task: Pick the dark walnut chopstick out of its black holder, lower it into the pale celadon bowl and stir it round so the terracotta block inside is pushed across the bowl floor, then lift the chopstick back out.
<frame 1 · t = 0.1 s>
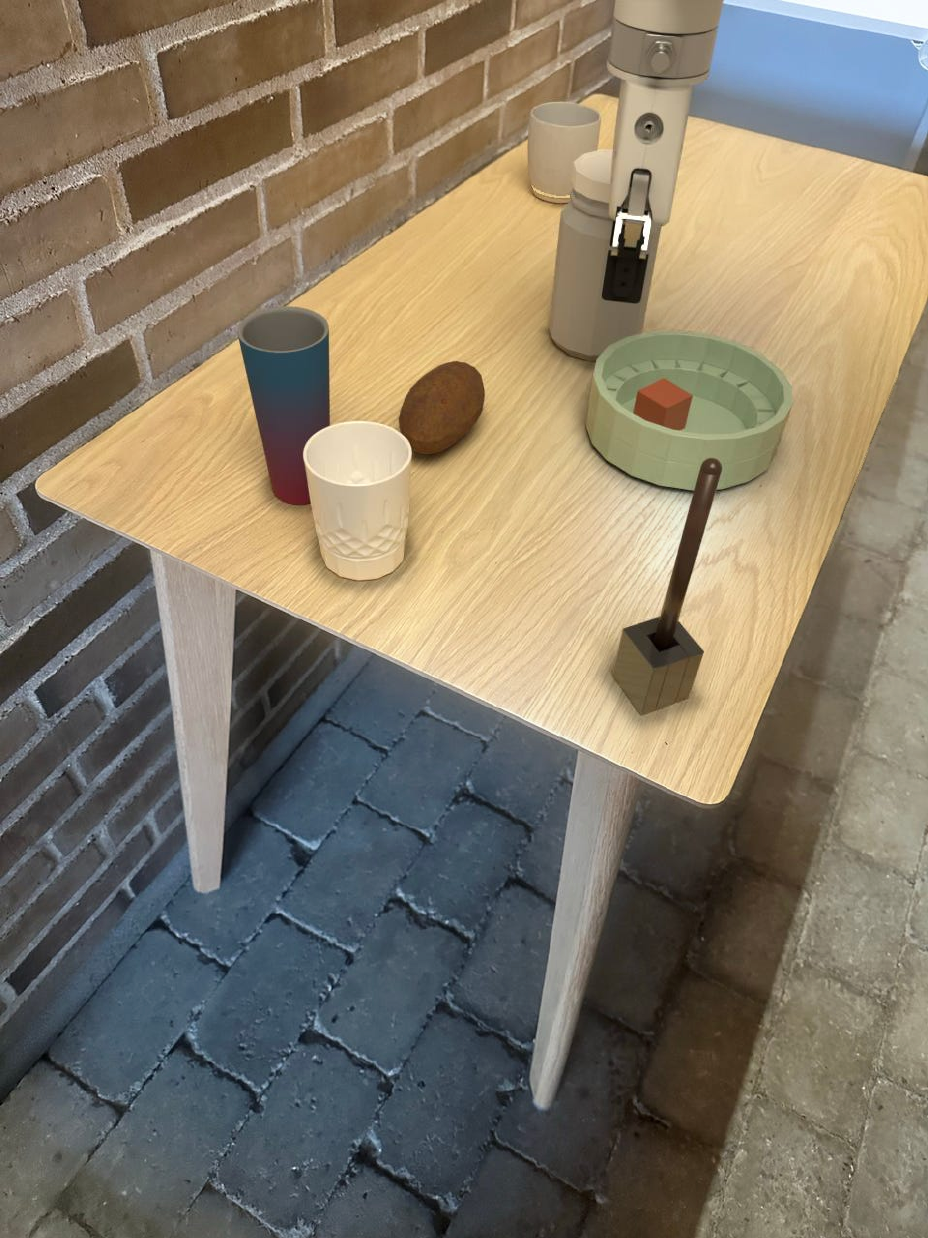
hand: (623, 272, 81), 14 cm above the table, tool pointing down, fingers open, 9 cm apart
chopstick: (649, 686, 67), resting in holder
bowl: (679, 436, 88), on the table
white cup: (363, 554, 76), on the table
block: (658, 425, 88), point 1 cm above the table, touching bowl
jar: (592, 342, 100), on the table
holder: (650, 686, 67), on the table
mug: (562, 190, 127), on the table
potato: (440, 440, 87), on the table
cup: (301, 488, 81), on the table
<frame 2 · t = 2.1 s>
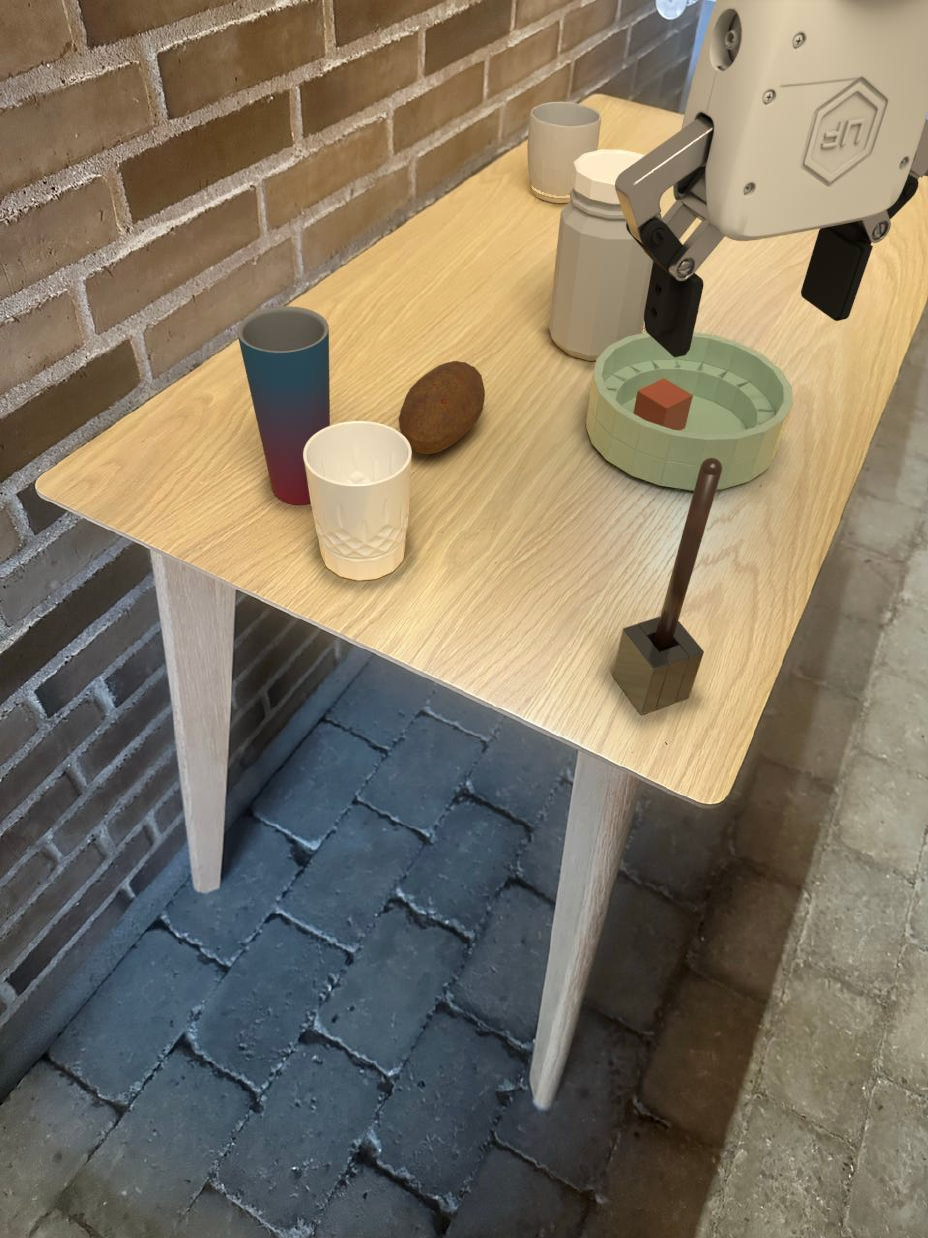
hand: (746, 325, 48), 27 cm above the table, tool pointing down, fingers open, 9 cm apart
nothing on the table moved.
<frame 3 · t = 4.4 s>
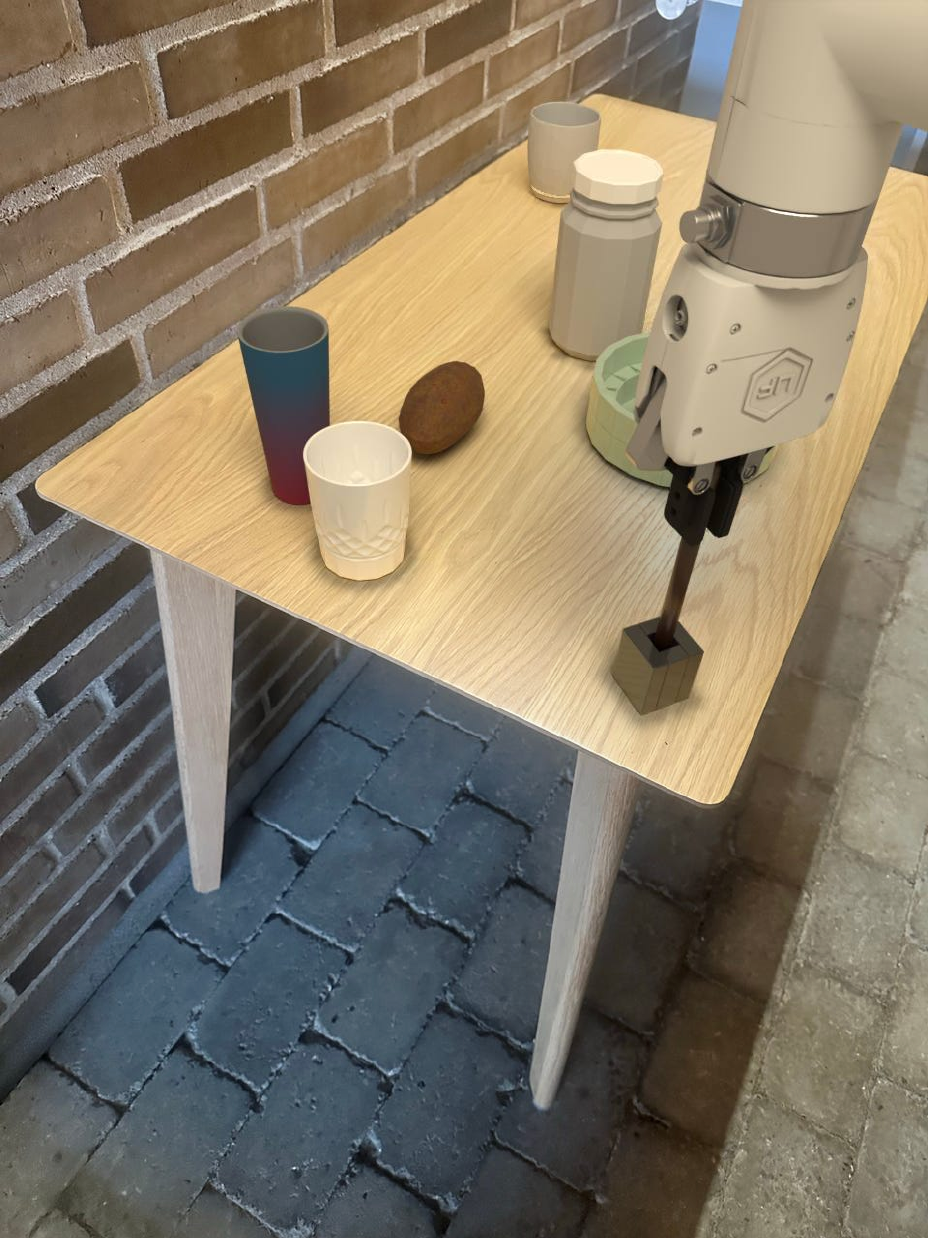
hand: (695, 525, 56), 15 cm above the table, tool pointing down, fingers closed on chopstick, 1 cm apart
chopstick: (650, 686, 67), resting in holder, touching gripper
everything else where it was.
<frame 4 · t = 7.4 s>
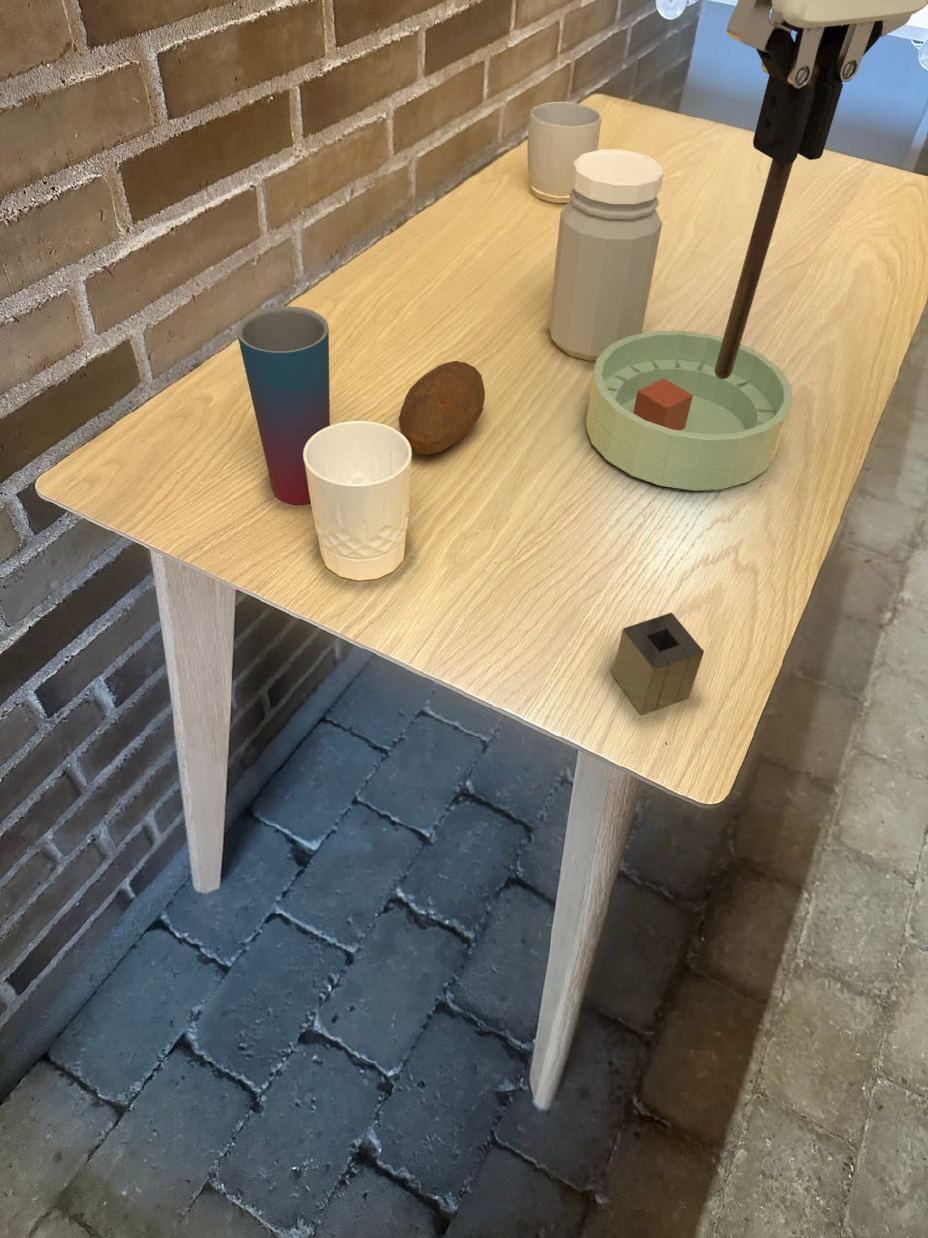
hand: (786, 151, 54), 31 cm above the table, tool pointing down, fingers closed on chopstick, 1 cm apart
chopstick: (721, 377, 65), point 16 cm above the table, touching gripper
everything else where it was.
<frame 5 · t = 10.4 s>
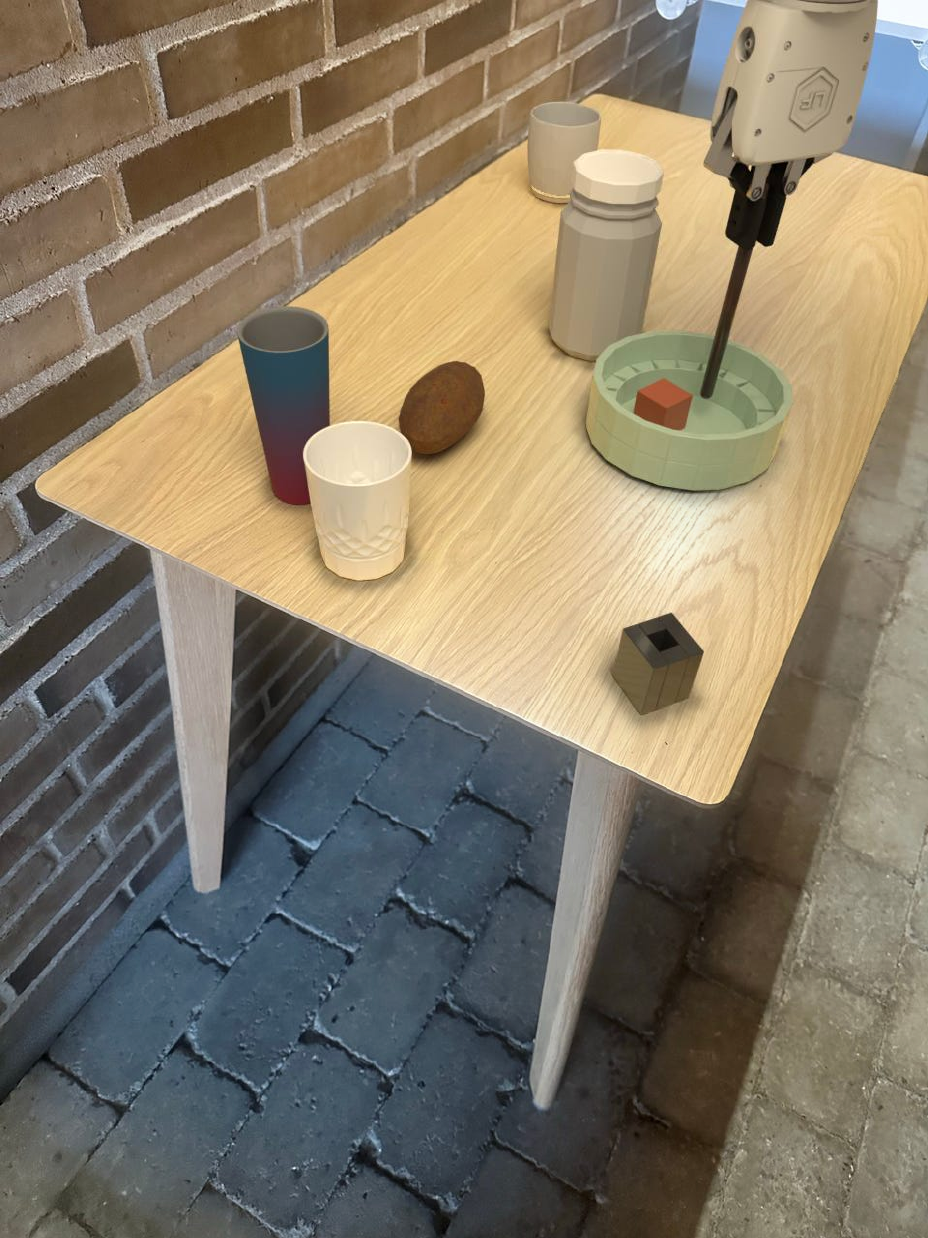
hand: (748, 240, 76), 18 cm above the table, tool pointing down, fingers closed on chopstick, 1 cm apart
chopstick: (705, 397, 87), point 3 cm above the table, touching gripper
everything else where it was.
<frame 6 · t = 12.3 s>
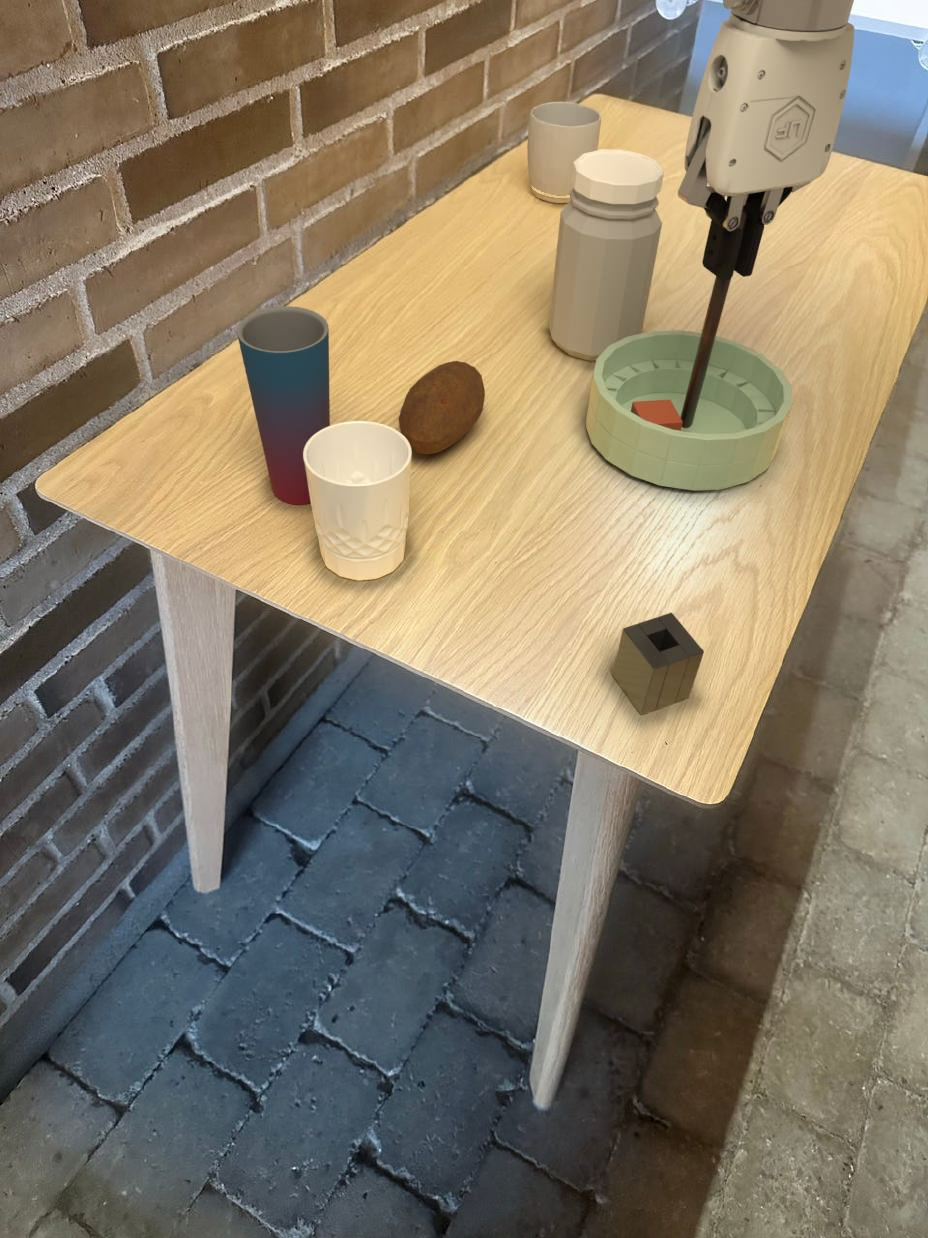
hand: (726, 269, 74), 17 cm above the table, tool pointing down, fingers closed on chopstick, 1 cm apart
chopstick: (684, 427, 85), point 2 cm above the table, touching gripper
block: (650, 444, 86), point 1 cm above the table, touching bowl
everything else where it was.
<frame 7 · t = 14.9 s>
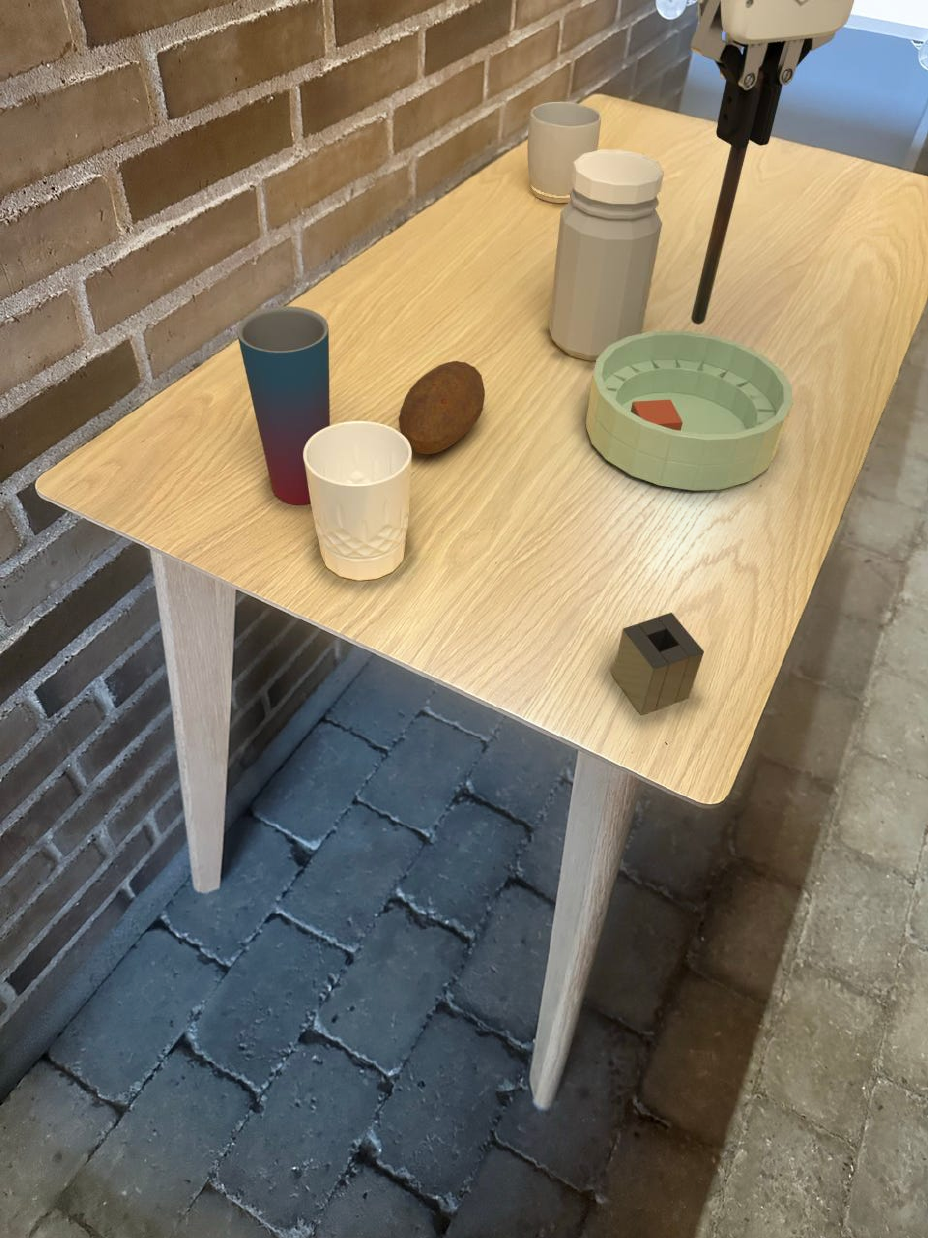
hand: (741, 139, 70), 26 cm above the table, tool pointing down, fingers closed on chopstick, 1 cm apart
chopstick: (696, 323, 81), point 11 cm above the table, touching gripper
everything else where it was.
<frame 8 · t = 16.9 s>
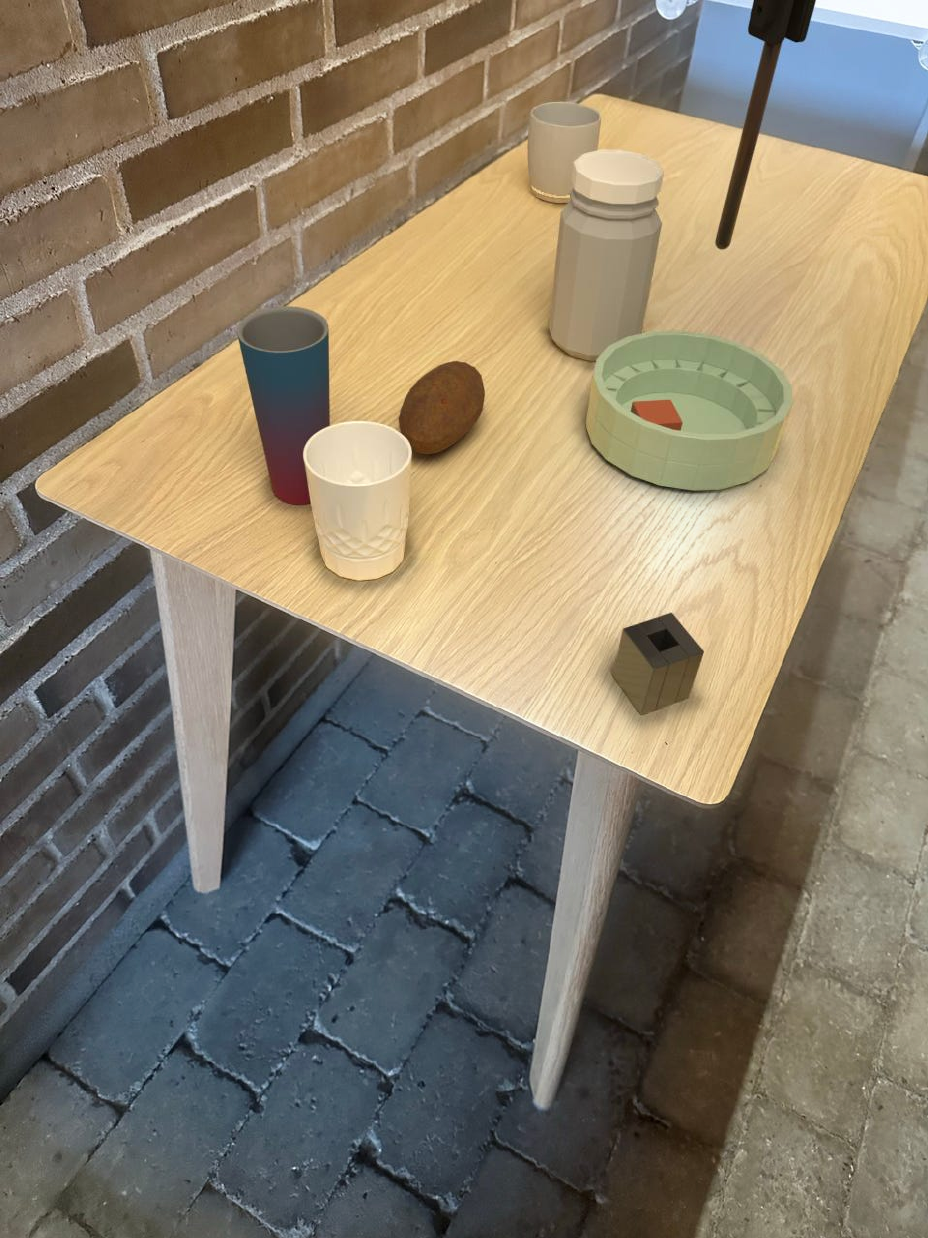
hand: (775, 36, 64), 33 cm above the table, tool pointing down, fingers closed on chopstick, 1 cm apart
chopstick: (721, 248, 75), point 18 cm above the table, touching gripper
everything else where it was.
at the end: block moved 3.3 cm from its start; block inside the target area in the bowl (3.9 cm from its centre), point 0.6 cm above the bowl's base; chopstick moved 36.5 cm from its start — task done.
